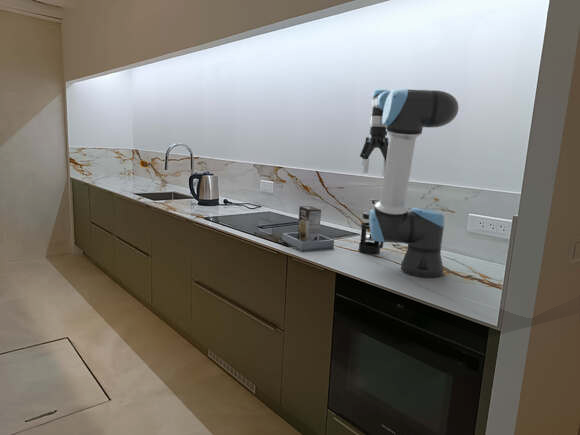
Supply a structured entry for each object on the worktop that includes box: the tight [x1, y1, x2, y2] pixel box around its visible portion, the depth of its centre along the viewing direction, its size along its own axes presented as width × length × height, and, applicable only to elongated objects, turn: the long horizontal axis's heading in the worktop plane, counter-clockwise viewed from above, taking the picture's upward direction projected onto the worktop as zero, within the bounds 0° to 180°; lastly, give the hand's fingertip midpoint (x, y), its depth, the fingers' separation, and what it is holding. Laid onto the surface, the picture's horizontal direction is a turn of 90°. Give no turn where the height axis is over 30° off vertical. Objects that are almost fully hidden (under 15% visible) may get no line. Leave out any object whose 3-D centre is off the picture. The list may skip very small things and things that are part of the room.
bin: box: [282, 231, 335, 253], centre depth 183 cm, size 18×16×4 cm
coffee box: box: [297, 205, 322, 242], centre depth 181 cm, size 9×6×16 cm
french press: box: [357, 198, 384, 255], centre depth 175 cm, size 12×9×23 cm
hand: (374, 174), depth 185 cm, fingers open, 13 cm apart
